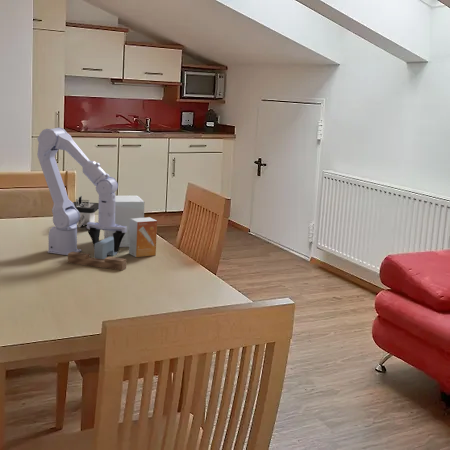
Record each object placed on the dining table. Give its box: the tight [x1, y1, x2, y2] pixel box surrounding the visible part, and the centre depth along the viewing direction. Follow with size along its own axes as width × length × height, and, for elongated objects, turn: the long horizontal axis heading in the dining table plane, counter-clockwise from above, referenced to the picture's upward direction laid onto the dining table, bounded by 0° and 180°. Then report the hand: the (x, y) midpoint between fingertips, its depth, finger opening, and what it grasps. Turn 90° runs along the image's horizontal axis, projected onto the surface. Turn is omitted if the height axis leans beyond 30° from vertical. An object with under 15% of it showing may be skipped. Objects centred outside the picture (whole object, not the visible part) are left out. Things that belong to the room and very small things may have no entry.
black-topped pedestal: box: [72, 195, 99, 228], centre depth 267 cm, size 28×26×13 cm
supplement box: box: [103, 195, 145, 248], centre depth 246 cm, size 13×13×18 cm
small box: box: [128, 216, 158, 258], centre depth 232 cm, size 8×6×13 cm
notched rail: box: [67, 252, 127, 271], centre depth 217 cm, size 20×3×3 cm, turn 74°
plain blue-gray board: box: [93, 236, 118, 259], centre depth 227 cm, size 3×12×6 cm, turn 164°
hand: (106, 250), depth 227 cm, fingers open, 7 cm apart
